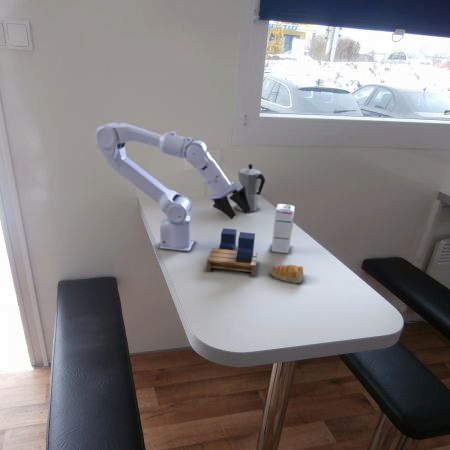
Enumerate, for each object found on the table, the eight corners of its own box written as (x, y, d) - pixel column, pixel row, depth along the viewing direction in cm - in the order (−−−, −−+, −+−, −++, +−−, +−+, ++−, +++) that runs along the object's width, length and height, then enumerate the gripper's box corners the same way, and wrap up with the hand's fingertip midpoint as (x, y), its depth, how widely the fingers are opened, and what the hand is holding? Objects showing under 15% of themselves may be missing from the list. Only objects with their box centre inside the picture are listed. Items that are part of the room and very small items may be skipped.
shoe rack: (206, 270, 119) (207, 260, 117) (212, 258, 127) (212, 247, 125) (254, 276, 118) (255, 265, 116) (256, 263, 126) (257, 252, 124)
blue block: (222, 246, 135) (223, 228, 131) (235, 248, 134) (236, 229, 131) (218, 255, 129) (219, 236, 125) (232, 256, 128) (233, 237, 125)
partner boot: (238, 251, 123) (240, 231, 120) (253, 253, 123) (255, 233, 120) (236, 261, 117) (237, 240, 114) (251, 263, 117) (253, 242, 114)
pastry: (269, 280, 116) (270, 268, 114) (271, 270, 122) (273, 258, 120) (302, 284, 115) (304, 272, 113) (303, 274, 121) (305, 262, 119)
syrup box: (288, 253, 133) (294, 210, 125) (270, 251, 133) (275, 208, 126) (289, 246, 137) (295, 205, 130) (272, 244, 138) (277, 203, 131)
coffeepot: (228, 205, 171) (231, 161, 162) (245, 202, 176) (249, 159, 167) (252, 216, 161) (256, 170, 152) (269, 212, 166) (274, 167, 157)
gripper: (236, 162, 117) (262, 201, 121) (209, 177, 129) (234, 212, 133) (222, 176, 113) (249, 215, 118) (196, 190, 125) (221, 225, 130)
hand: (240, 214), depth 126 cm, fingers open, 7 cm apart
